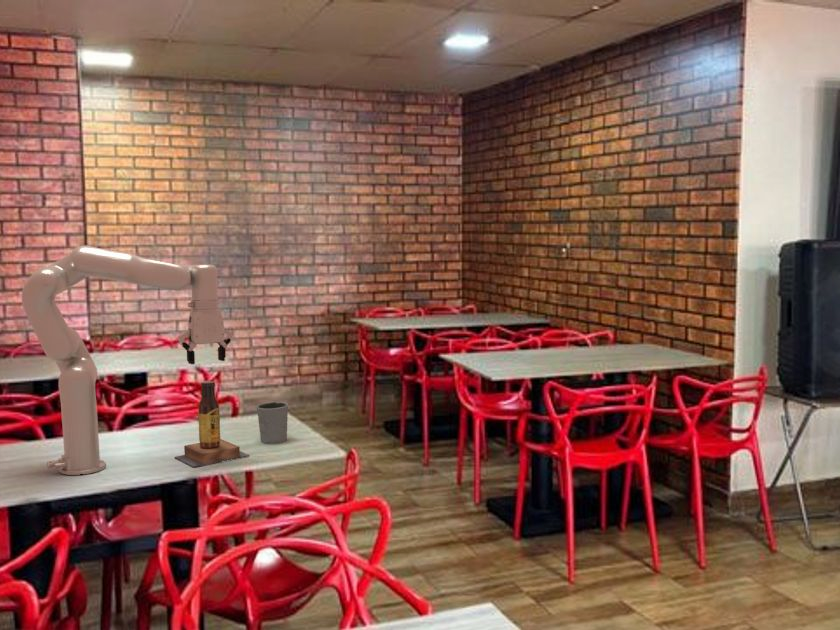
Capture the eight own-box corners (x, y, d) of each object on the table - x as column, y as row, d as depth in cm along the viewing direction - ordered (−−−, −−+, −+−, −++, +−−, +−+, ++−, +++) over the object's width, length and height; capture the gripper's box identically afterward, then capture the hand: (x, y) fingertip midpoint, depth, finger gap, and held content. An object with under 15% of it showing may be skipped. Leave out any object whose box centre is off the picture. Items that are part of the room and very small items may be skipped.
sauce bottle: (214, 449, 246) (212, 384, 244) (195, 448, 248) (192, 383, 246) (224, 443, 253) (221, 380, 251) (205, 443, 254) (203, 379, 252)
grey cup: (291, 436, 275) (289, 401, 273) (287, 444, 265) (285, 407, 263) (260, 437, 274) (259, 402, 273) (255, 445, 264) (254, 408, 263)
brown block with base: (193, 468, 240) (193, 456, 239) (174, 458, 250) (174, 447, 250) (249, 456, 251) (249, 445, 250) (228, 447, 262) (228, 436, 261)
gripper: (182, 308, 238) (184, 366, 239) (237, 304, 248) (238, 360, 250) (172, 306, 243) (174, 363, 245) (226, 303, 254) (227, 358, 256)
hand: (206, 362), depth 248 cm, fingers open, 9 cm apart
